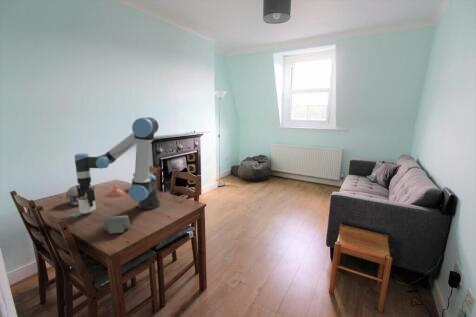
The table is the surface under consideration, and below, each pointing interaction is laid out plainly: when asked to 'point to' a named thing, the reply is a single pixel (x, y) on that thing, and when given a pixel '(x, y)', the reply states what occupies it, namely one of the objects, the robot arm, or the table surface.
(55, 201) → the table surface
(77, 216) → the strip
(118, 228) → the digital clock
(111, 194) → the ceramic vessels
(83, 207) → the cream block
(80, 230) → the table surface
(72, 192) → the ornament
